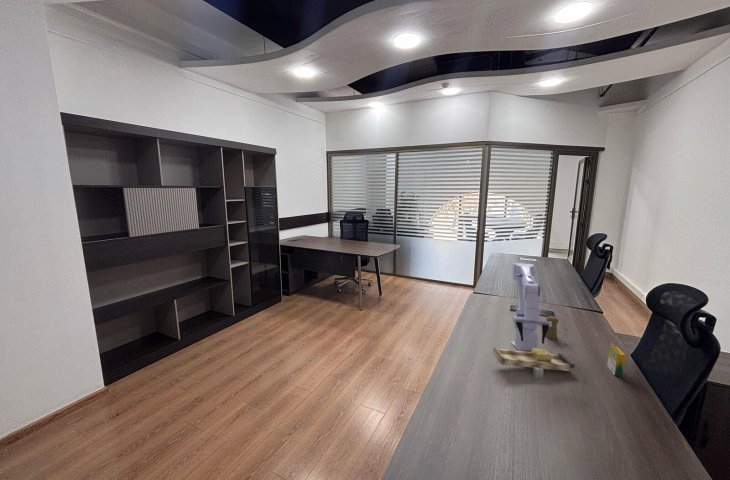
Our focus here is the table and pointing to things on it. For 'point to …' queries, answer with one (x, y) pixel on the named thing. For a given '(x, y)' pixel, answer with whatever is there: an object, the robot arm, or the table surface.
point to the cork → (552, 328)
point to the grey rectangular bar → (538, 372)
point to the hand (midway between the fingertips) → (532, 342)
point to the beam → (532, 360)
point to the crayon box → (616, 360)
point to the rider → (541, 355)
